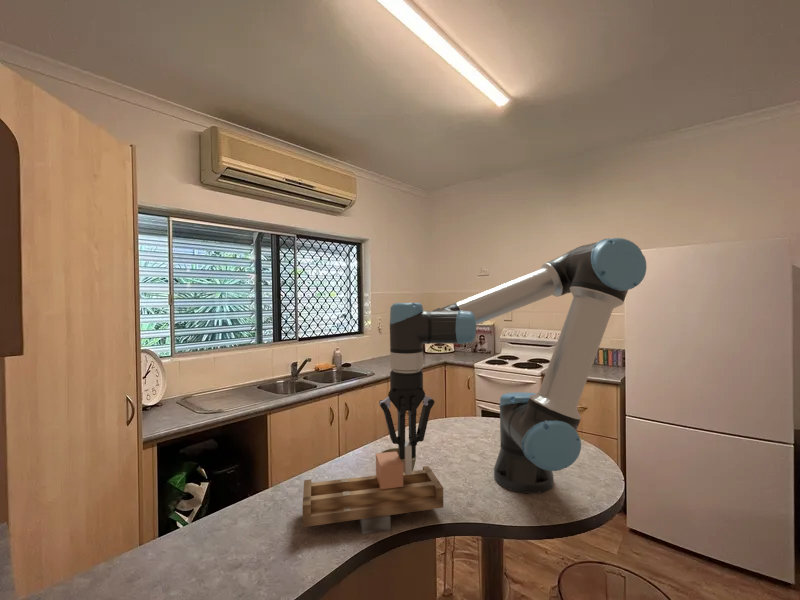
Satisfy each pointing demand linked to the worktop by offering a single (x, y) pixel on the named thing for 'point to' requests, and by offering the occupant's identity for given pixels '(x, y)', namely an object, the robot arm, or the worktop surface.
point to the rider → (389, 470)
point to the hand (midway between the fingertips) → (407, 471)
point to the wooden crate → (369, 500)
